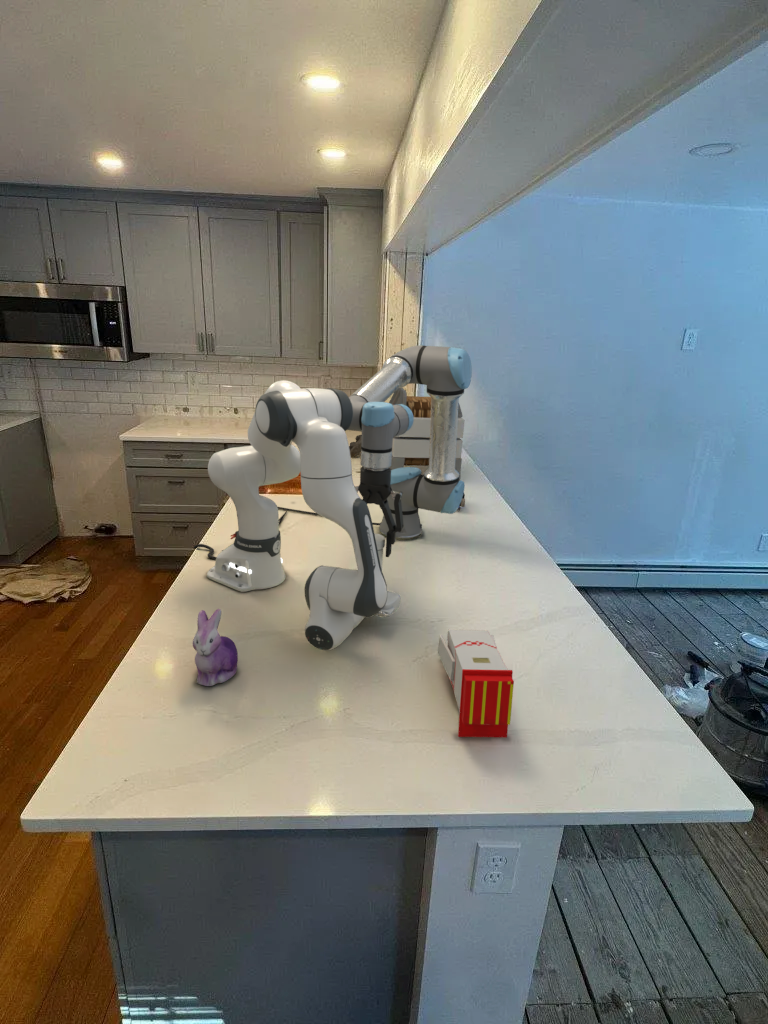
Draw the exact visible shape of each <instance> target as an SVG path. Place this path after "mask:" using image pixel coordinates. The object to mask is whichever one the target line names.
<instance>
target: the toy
mask: <svg viewBox="0 0 768 1024" xmlns="http://www.w3.org/2000/svg"><path fill="white" fill-rule="evenodd" d="M446 640H447V643H446V641H445V639H444V636H443V635H442V634H439V637H438V646H437V656H438V657H439V659H440V661H441V663H442V666H443V668H444V670H445V672H446V674H447V677H448V679H449V681H450V684H451V687H452V690H453V693H454V697H455V701H456V705H457V708H458V711H459V714H458V715H459V716H458V730H457V731H458V732H457V737H458V738H508V731H509V726H510V725H511V717H512V707H513V697H514V696H513V695H514V684H515V680H514V679H513V673H514V671H513V670H512V669H508V667H507V665H506V662H505V661H504V659H503V658H502V655H501V653H500V651H499V649H498V647H497V643H496V639H495V637H494V635H493V634H491V632H490V631H489V629H467V628H466V629H465V628H463V629H461V628H460V629H459V628H448V630H447V639H446Z"/></svg>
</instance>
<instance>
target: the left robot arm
mask: <svg viewBox="0 0 768 1024" xmlns="http://www.w3.org/2000/svg"><path fill="white" fill-rule="evenodd" d="M352 418H353V407H352V403H351V401H350V399H349V396H348V394H347V393H346V392H345V391H343V390H341V389H337V388H333V387H328V388H317V387H315V388H314V387H302V388H301V387H300V385H298V384H297V383H295V382H293V381H290V380H286V379H285V380H283V379H282V380H277V381H275V382H273V383H272V384H270V385H269V386H268V388H267V389H266V390H265V392H264V393H263V394H262V395H261V396H259V398H258V399H257V401H256V404H255V411H254V413H253V416H252V418H251V420H250V423H249V426H248V428H247V439H248V443H249V444H250V445H244V446H236V447H229V448H226V449H222V450H220V451H217V452H213V454H212V455H211V457H210V458H209V460H208V464H207V474H208V477H209V480H210V481H211V482H212V484H213V485H214V486H215V487H216V488H217V489H219V490H221V491H222V492H224V493H225V494H226V495H228V496H229V498H230V499H231V501H232V502H233V504H234V507H235V511H236V518H237V527H238V528H237V529H238V530H236V531H235V532H234V533H233V534H231V535H230V540H233V539H234V541H233V542H232V543H231V544H230V545H228V546H227V547H226V548H224V549H223V550H221V551H220V552H219V553H218V554H217V556H214V555H213V554H214V552H215V549H214V548H213V547H211V546H209V545H207V544H203V543H197V544H195V545H194V546H193V549H198V548H204V549H207V550H209V552H208V553H207V558H208V559H210V560H212V561H213V560H214V561H215V562H214V566H213V567H211V568H209V570H208V571H207V572H206V578H207V579H209V580H210V581H211V580H212V581H213V582H217V583H219V584H221V585H224V586H226V587H228V588H231V589H233V590H236V591H238V592H242V593H245V592H250V591H254V590H265V589H270V588H274V587H276V586H279V585H281V584H282V583H283V582H284V581H285V580H286V577H287V575H286V573H285V569H284V566H283V558H282V556H281V549H282V548H281V547H282V540H281V538H282V537H281V530H280V525H279V521H280V520H279V519H280V518H279V509H278V507H279V506H278V505H277V504H276V502H275V501H274V500H273V499H271V498H269V497H266V496H265V495H260V491H259V489H260V487H263V486H269V485H275V484H276V485H277V484H282V483H285V482H287V481H290V480H294V479H295V478H297V477H298V476H299V475H300V488H301V495H302V497H303V500H304V503H306V505H307V507H308V508H310V510H311V511H313V513H317V514H319V515H320V517H323V518H324V519H327V520H329V521H331V522H332V523H334V524H337V525H338V526H339V527H341V528H342V529H343V530H344V531H345V532H346V533H347V534H348V536H349V538H350V540H351V543H352V548H353V553H354V557H355V558H354V559H355V563H356V568H357V569H354V568H353V569H352V568H345V567H340V566H331V565H323V564H322V565H321V564H320V565H319V566H317V567H315V568H314V569H313V571H312V572H311V573H310V575H308V577H307V579H306V581H305V584H304V589H303V590H304V592H303V593H304V599H305V602H306V606H307V608H308V610H309V614H308V619H307V622H306V625H305V627H304V636H305V639H306V640H307V642H308V643H309V644H310V645H311V646H312V647H314V648H316V649H318V650H322V651H331V650H333V649H335V648H337V647H338V646H340V645H341V644H342V643H343V642H344V641H345V640H346V639H347V638H348V637H349V636H350V635H351V633H352V632H353V630H354V629H355V628H356V627H357V626H359V625H360V624H361V622H363V620H364V619H365V618H367V619H369V618H371V617H373V616H377V617H383V618H387V617H389V616H392V615H393V614H394V613H395V612H396V611H398V609H400V607H401V602H402V597H401V594H400V593H399V592H395V591H390V590H388V584H387V581H386V578H385V575H384V573H383V572H384V571H383V568H382V569H381V565H380V560H379V555H378V550H377V544H376V539H375V534H376V533H375V529H374V525H373V524H372V523H373V519H372V516H371V511H370V509H369V508H370V507H369V506H368V504H366V502H365V501H363V500H362V499H363V498H361V497H360V495H359V494H358V493H357V492H356V489H355V487H354V486H355V484H354V479H353V466H352V457H351V456H350V449H349V446H350V443H349V439H348V435H347V433H346V431H348V430H347V429H348V428H349V427H350V424H351V422H352ZM292 443H294V444H295V445H293V444H292ZM319 515H318V516H319Z"/></svg>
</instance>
